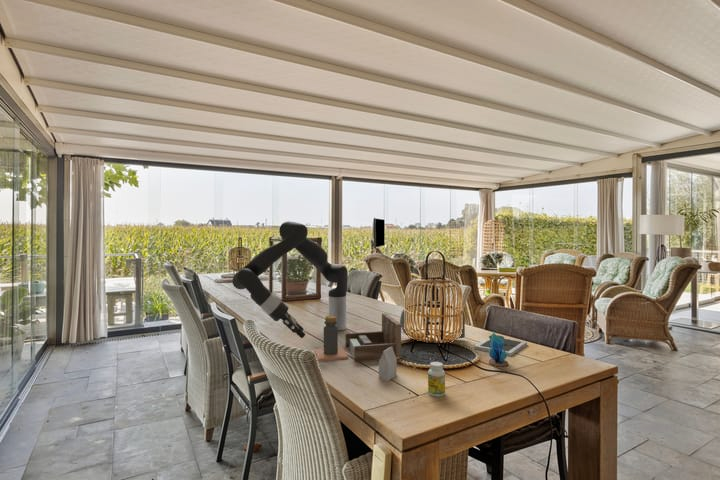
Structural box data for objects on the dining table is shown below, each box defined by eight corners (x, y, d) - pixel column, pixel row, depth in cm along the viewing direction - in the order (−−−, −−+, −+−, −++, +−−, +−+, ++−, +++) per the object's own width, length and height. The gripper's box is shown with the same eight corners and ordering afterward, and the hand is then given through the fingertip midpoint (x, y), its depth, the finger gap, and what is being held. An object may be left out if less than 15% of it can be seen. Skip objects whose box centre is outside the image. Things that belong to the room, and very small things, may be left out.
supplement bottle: (448, 393, 127) (448, 363, 127) (438, 398, 123) (439, 368, 123) (434, 388, 131) (434, 359, 130) (424, 393, 127) (424, 363, 127)
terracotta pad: (315, 351, 169) (315, 349, 169) (342, 349, 172) (342, 347, 172) (318, 361, 157) (318, 358, 157) (348, 358, 160) (348, 356, 160)
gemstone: (485, 364, 153) (485, 334, 153) (492, 358, 160) (493, 329, 160) (504, 369, 149) (505, 337, 148) (511, 362, 156) (512, 332, 155)
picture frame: (492, 340, 189) (474, 350, 173) (492, 334, 189) (474, 344, 173) (526, 346, 179) (510, 358, 163) (527, 340, 179) (510, 351, 163)
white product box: (396, 374, 143) (396, 347, 143) (388, 381, 137) (388, 352, 137) (387, 372, 145) (387, 345, 145) (378, 379, 139) (378, 350, 139)
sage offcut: (349, 349, 174) (349, 339, 174) (356, 348, 174) (356, 338, 174) (355, 359, 160) (355, 348, 160) (362, 359, 160) (362, 348, 160)
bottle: (332, 355, 161) (332, 319, 160) (320, 353, 164) (320, 317, 163) (340, 352, 166) (340, 316, 165) (329, 349, 169) (329, 314, 168)
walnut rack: (345, 346, 177) (345, 315, 176) (386, 343, 181) (386, 313, 181) (355, 362, 156) (355, 326, 156) (401, 358, 161) (401, 324, 160)
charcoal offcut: (358, 349, 174) (358, 335, 173) (365, 348, 174) (365, 335, 174) (364, 357, 162) (364, 343, 162) (371, 357, 162) (371, 342, 162)
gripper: (281, 303, 152) (311, 331, 155) (280, 297, 166) (307, 322, 169) (267, 317, 151) (297, 345, 154) (267, 310, 165) (295, 335, 168)
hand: (302, 333), depth 162 cm, fingers open, 8 cm apart
